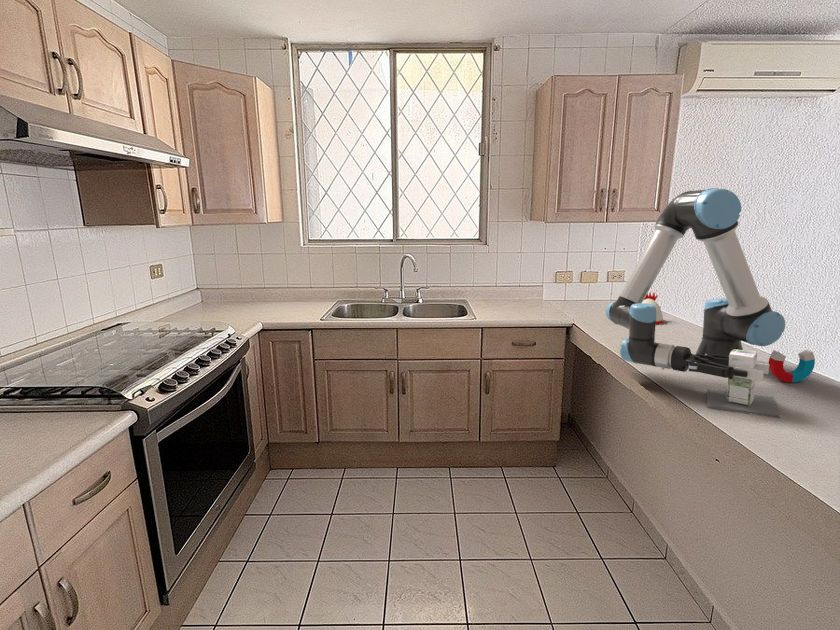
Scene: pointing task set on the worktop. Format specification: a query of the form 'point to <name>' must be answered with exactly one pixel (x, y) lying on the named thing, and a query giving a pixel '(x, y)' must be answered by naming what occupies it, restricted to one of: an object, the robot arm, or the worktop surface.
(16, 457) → the worktop surface
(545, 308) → the worktop surface
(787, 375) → the magnet
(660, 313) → the cream beanie hat
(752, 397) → the syrup box
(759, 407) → the rubber mat
